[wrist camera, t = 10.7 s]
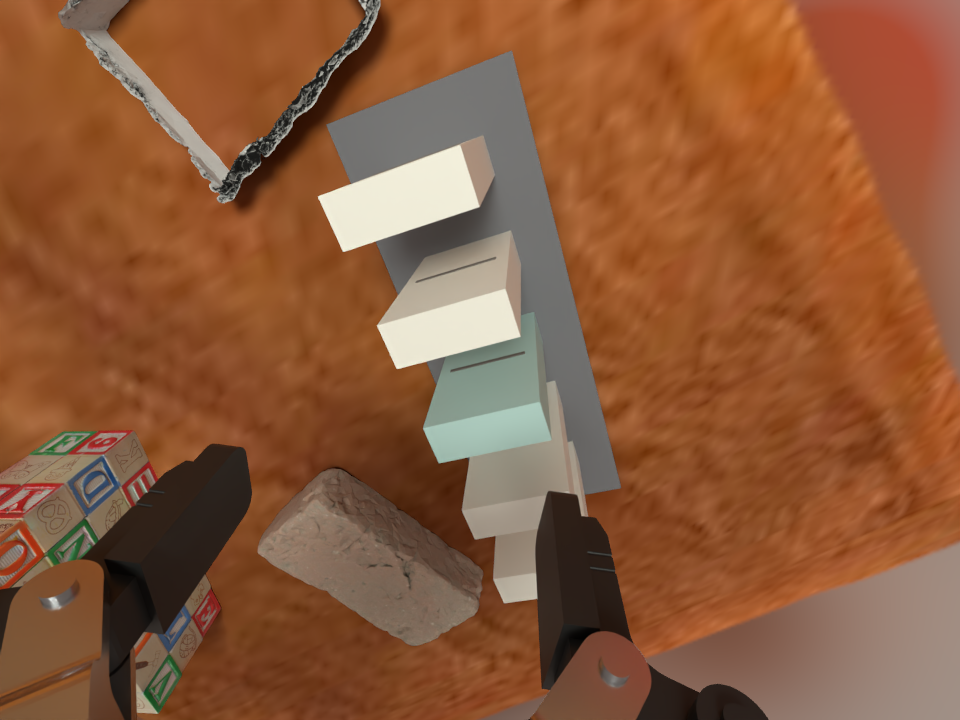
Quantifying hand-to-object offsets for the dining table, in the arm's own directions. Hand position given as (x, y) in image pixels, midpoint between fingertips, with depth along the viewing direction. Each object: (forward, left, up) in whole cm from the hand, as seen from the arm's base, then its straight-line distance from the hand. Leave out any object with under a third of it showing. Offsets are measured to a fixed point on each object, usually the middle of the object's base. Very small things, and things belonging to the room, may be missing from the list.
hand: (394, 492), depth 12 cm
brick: (+19, -14, -18) cm, 30 cm away
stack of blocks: (+13, -34, -18) cm, 40 cm away
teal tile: (+4, +1, -17) cm, 18 cm away
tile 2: (-1, +1, -17) cm, 17 cm away
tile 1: (-6, +1, -17) cm, 18 cm away
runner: (+4, +1, -18) cm, 18 cm away
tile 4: (+9, +1, -17) cm, 19 cm away
